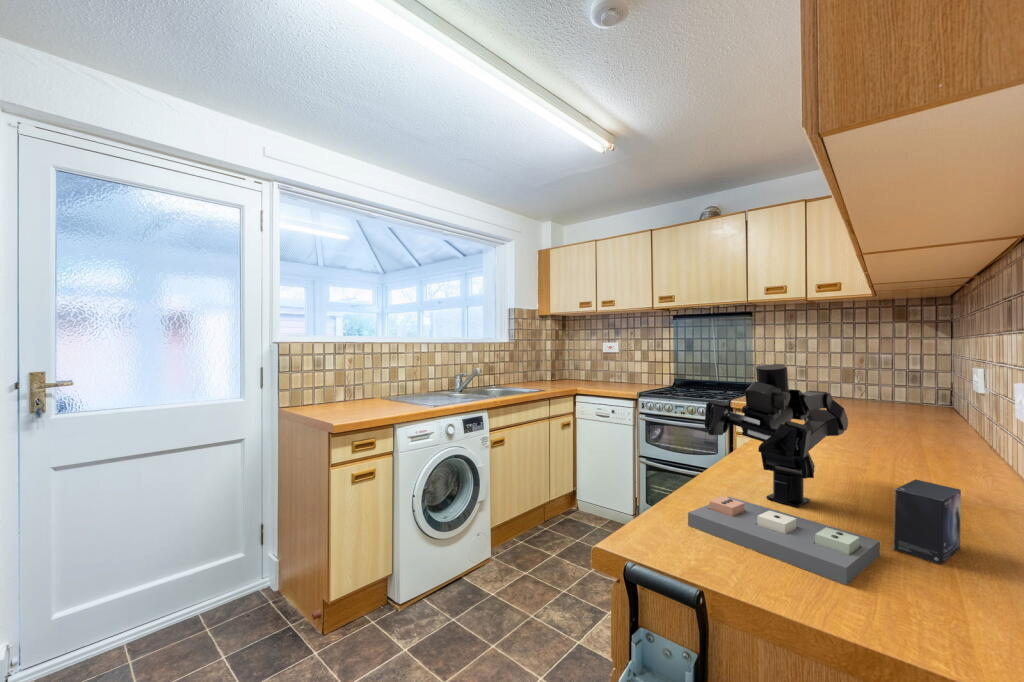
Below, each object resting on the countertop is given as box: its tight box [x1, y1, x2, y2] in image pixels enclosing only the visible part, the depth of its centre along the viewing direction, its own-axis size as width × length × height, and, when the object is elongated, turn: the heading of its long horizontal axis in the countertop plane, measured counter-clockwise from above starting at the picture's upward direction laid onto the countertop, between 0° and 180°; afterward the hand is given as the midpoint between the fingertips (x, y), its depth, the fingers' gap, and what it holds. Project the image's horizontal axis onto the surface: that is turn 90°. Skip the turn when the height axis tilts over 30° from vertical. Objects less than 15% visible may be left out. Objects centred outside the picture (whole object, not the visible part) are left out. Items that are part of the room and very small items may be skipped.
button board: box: [687, 496, 881, 586], centre depth 77 cm, size 15×25×2 cm, turn 36°
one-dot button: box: [757, 510, 796, 534], centre depth 77 cm, size 4×4×3 cm
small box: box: [893, 479, 962, 565], centre depth 74 cm, size 11×6×10 cm, turn 123°
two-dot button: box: [815, 527, 859, 556], centre depth 70 cm, size 4×4×3 cm
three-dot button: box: [708, 496, 744, 517], centre depth 85 cm, size 4×4×3 cm
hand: (733, 440), depth 81 cm, fingers open, 9 cm apart
